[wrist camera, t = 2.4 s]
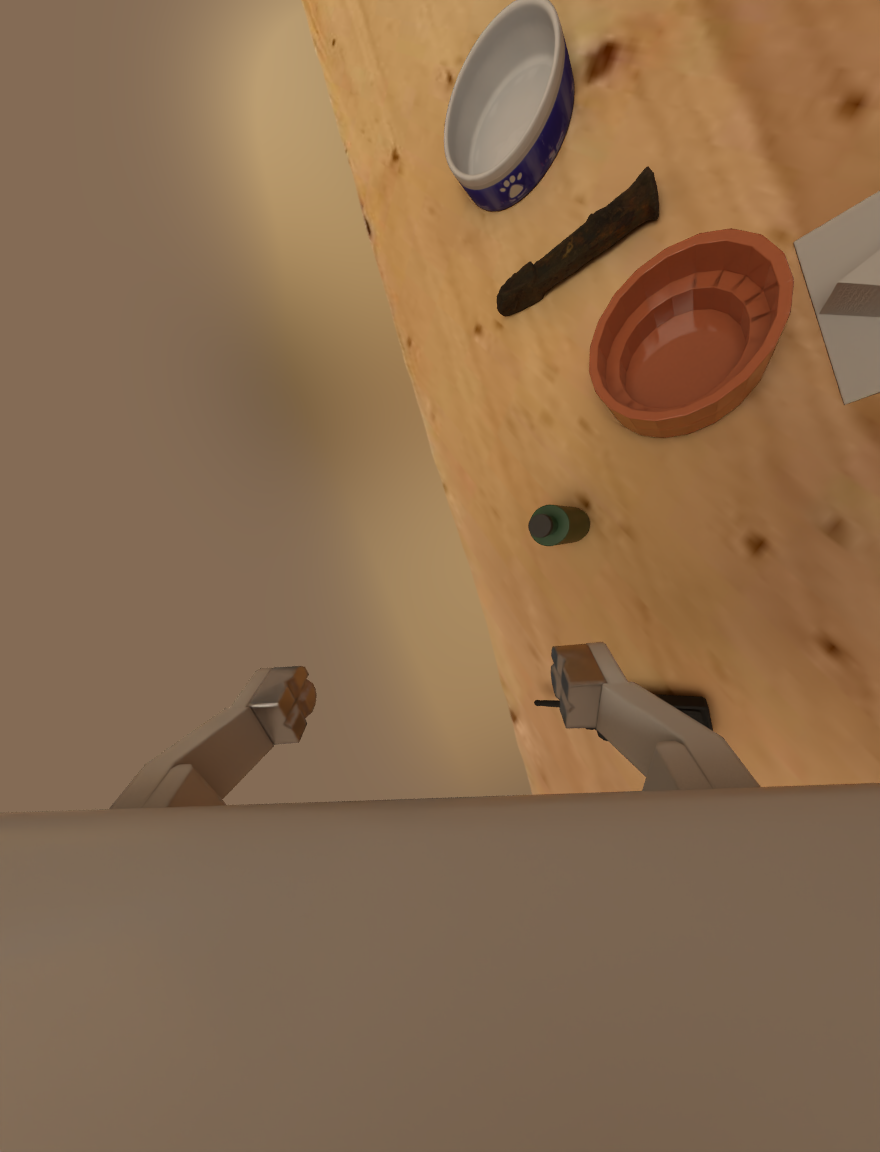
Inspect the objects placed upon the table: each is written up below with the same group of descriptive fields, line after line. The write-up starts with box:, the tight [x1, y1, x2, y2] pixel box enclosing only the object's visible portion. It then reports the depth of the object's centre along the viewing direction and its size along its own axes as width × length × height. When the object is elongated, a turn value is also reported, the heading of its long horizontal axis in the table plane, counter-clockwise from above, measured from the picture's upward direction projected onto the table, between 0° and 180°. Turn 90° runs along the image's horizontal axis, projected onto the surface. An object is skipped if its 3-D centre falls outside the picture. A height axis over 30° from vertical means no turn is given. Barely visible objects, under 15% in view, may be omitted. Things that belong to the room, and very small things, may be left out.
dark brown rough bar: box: [497, 167, 659, 316], centre depth 40 cm, size 19×4×5 cm, turn 104°
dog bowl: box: [444, 0, 574, 211], centre depth 42 cm, size 15×15×6 cm
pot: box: [589, 228, 794, 438], centre depth 33 cm, size 15×15×9 cm
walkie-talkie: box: [534, 695, 713, 741], centre depth 43 cm, size 6×6×20 cm
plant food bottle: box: [529, 505, 590, 546], centre depth 42 cm, size 5×5×12 cm
